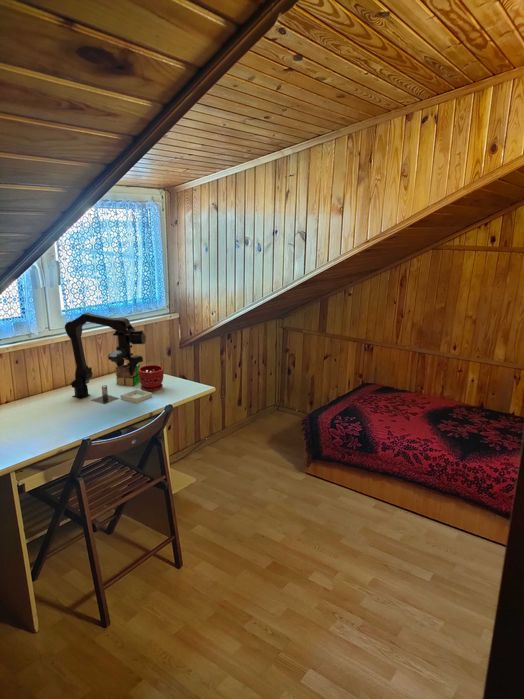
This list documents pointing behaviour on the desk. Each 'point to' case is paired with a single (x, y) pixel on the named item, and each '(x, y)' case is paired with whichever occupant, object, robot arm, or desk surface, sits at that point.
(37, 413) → the desk surface
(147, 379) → the plant pot
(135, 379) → the puzzle cube
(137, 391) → the tray
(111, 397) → the grey post on plate
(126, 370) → the wooden shaft bracket
